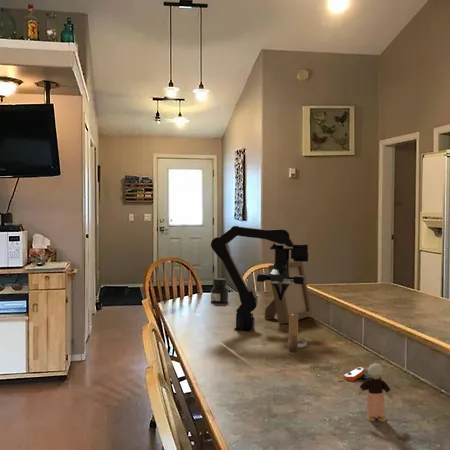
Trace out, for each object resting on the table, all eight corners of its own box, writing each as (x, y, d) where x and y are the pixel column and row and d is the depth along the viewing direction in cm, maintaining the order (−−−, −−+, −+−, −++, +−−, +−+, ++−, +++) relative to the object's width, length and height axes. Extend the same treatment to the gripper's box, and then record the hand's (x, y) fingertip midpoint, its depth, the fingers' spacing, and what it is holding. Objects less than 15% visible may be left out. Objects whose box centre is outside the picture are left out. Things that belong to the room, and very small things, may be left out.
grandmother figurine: (387, 415, 121) (389, 361, 121) (393, 422, 117) (395, 366, 117) (354, 415, 121) (356, 361, 121) (359, 422, 117) (360, 366, 117)
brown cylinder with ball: (283, 350, 174) (283, 314, 173) (289, 343, 184) (289, 309, 183) (302, 352, 172) (303, 316, 171) (307, 345, 182) (308, 310, 181)
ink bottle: (207, 301, 274) (208, 278, 274) (223, 300, 278) (223, 277, 278) (215, 304, 265) (215, 280, 265) (231, 303, 269) (231, 279, 269)
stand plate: (263, 342, 188) (263, 336, 188) (300, 339, 193) (300, 333, 193) (288, 357, 169) (288, 350, 169) (329, 353, 174) (329, 346, 174)
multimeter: (321, 388, 141) (321, 376, 141) (312, 374, 153) (312, 363, 153) (387, 389, 141) (387, 376, 141) (373, 375, 153) (373, 363, 153)
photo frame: (312, 317, 235) (313, 261, 234) (287, 325, 218) (288, 265, 217) (283, 313, 244) (284, 259, 243) (257, 320, 227) (258, 262, 226)
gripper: (252, 261, 202) (252, 302, 202) (300, 264, 195) (300, 305, 196) (261, 259, 212) (260, 297, 213) (306, 261, 206) (306, 301, 206)
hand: (281, 300), depth 207 cm, fingers closed
